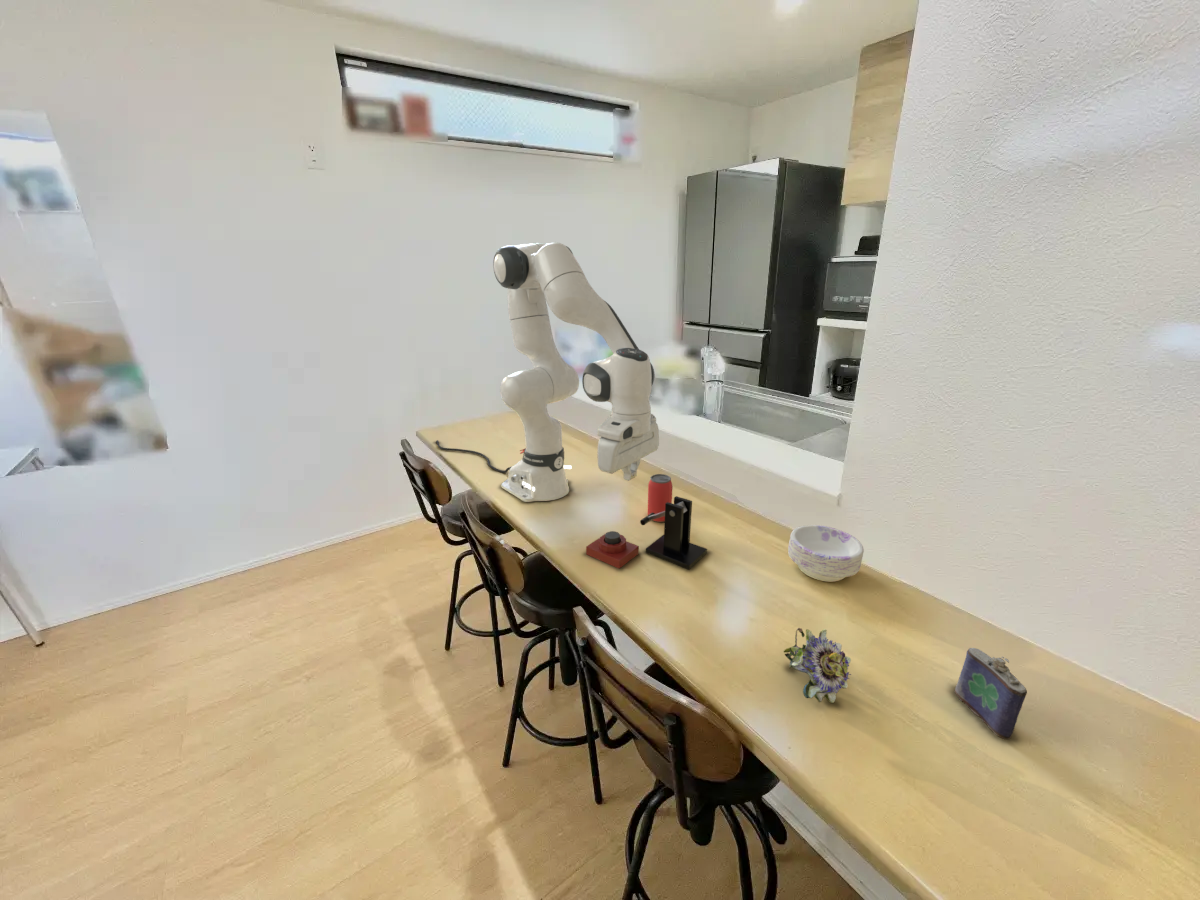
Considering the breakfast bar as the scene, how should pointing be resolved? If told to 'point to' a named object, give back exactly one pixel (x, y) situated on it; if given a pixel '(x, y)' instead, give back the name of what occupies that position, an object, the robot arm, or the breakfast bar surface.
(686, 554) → the bracket
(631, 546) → the button box
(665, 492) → the beer can
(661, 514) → the lever
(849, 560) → the paper bowls
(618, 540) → the button
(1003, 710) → the flask
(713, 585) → the breakfast bar surface
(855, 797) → the breakfast bar surface
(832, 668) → the passion flower
